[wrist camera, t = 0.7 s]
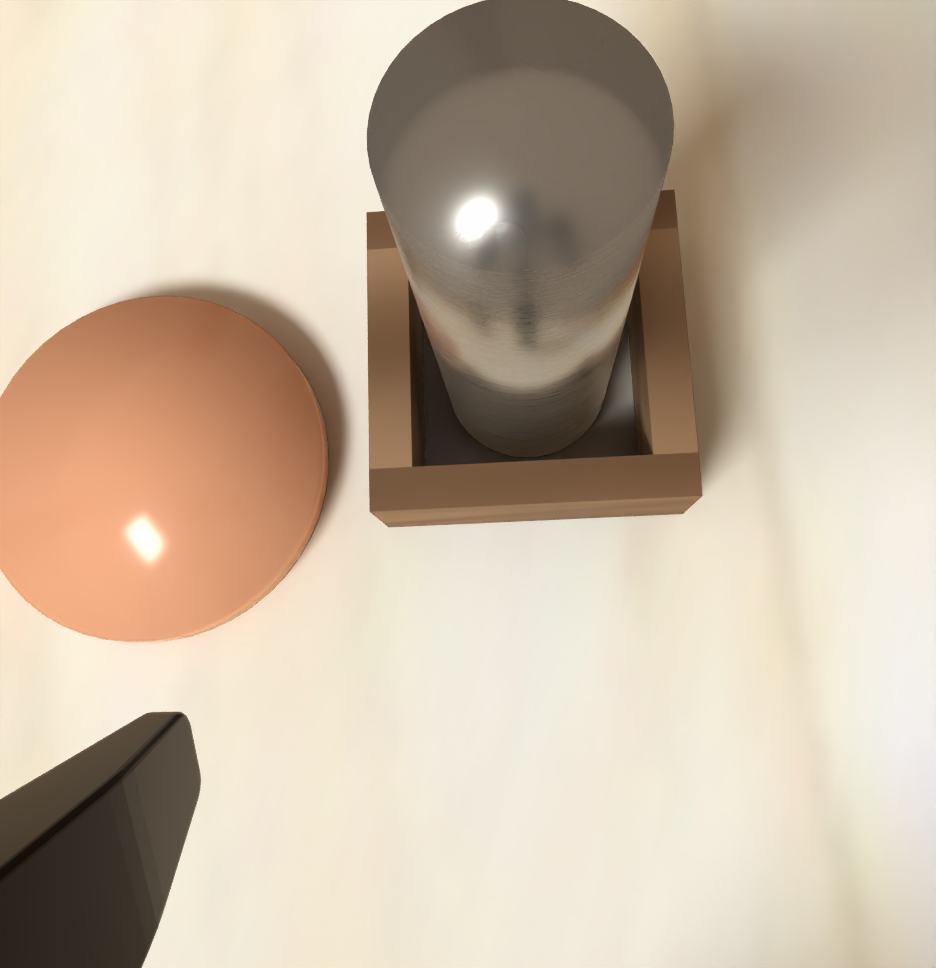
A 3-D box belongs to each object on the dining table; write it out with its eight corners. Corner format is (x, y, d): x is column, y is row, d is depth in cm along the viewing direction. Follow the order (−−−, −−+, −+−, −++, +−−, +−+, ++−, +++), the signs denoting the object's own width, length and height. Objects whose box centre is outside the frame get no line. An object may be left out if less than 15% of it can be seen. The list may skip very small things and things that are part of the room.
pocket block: (682, 513, 25) (702, 495, 22) (388, 527, 26) (369, 511, 23) (659, 240, 27) (674, 190, 24) (384, 259, 27) (366, 212, 24)
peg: (540, 489, 25) (544, 330, 13) (417, 394, 26) (305, 158, 14) (638, 366, 26) (737, 96, 13) (514, 277, 27) (494, -55, 14)
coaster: (168, 716, 25) (153, 719, 24) (-69, 496, 27) (-92, 490, 26) (398, 439, 26) (393, 431, 25) (155, 247, 28) (141, 233, 27)
